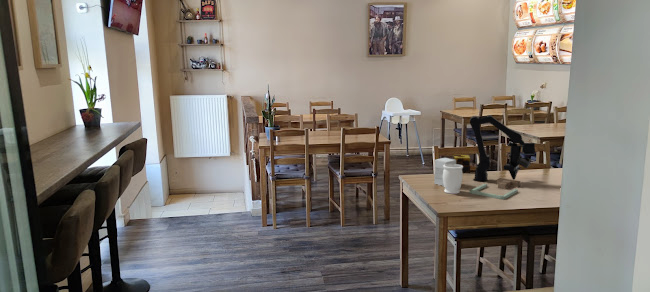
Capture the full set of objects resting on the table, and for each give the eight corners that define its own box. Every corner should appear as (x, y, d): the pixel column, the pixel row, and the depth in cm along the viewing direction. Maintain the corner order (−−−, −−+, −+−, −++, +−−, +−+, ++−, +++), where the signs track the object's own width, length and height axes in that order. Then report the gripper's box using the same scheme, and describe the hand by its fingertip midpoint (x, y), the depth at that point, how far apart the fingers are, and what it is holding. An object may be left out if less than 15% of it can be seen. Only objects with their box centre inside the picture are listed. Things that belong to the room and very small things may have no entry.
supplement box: (443, 181, 288) (444, 157, 285) (455, 184, 280) (456, 159, 278) (433, 184, 282) (434, 159, 280) (445, 187, 275) (446, 161, 273)
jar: (462, 190, 269) (463, 164, 266) (461, 195, 259) (462, 168, 256) (443, 188, 272) (444, 163, 269) (441, 193, 262) (442, 167, 260)
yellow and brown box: (470, 173, 308) (470, 158, 306) (453, 172, 310) (454, 157, 308) (468, 169, 317) (469, 155, 316) (453, 169, 320) (453, 154, 318)
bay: (469, 193, 263) (469, 190, 262) (484, 186, 276) (484, 183, 276) (503, 199, 250) (503, 196, 250) (517, 192, 264) (517, 189, 264)
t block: (499, 182, 284) (499, 177, 283) (520, 186, 276) (520, 181, 275) (491, 186, 275) (491, 181, 274) (511, 190, 267) (512, 185, 266)
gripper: (523, 158, 269) (521, 184, 271) (535, 152, 282) (533, 178, 285) (503, 155, 276) (502, 181, 279) (516, 150, 290) (514, 175, 292)
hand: (513, 179), depth 284 cm, fingers closed
